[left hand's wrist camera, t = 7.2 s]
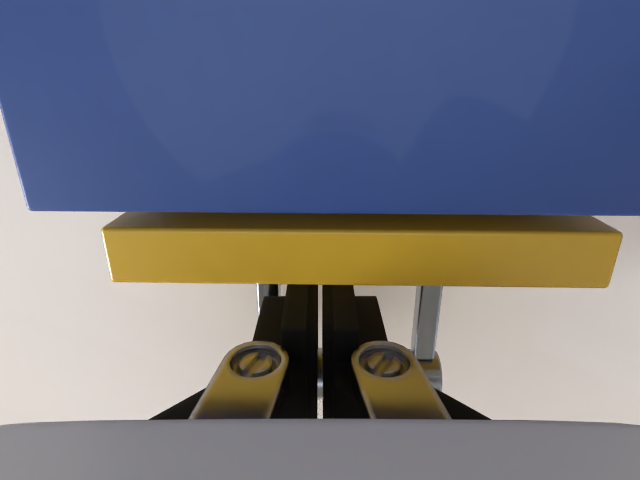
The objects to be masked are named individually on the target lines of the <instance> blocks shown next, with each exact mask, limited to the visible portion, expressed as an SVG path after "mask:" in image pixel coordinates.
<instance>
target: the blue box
mask: <svg viewBox="0 0 640 480" xmlns="http://www.w3.org/2000/svg"><path fill="white" fill-rule="evenodd" d="M0 108H1V112H2V116H3V119H4V123H5V127H6V130H7V134H8V138H9V141H10V145H11V149H12V153H13V156H14V160H15V164H16V167H17V171H18V175H19V178H20V182H21V186H22V190H23V193H24V197H25V201H26V204H27V208H28V209H29V210H31V211H102V212H227V213H353V214H478V215H604V216H640V0H0Z"/></svg>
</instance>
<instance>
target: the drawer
mask: <svg viewBox="0 0 640 480" xmlns="http://www.w3.org/2000/svg"><path fill="white" fill-rule="evenodd" d="M101 233H102V237H103V242H104V247H105V252H106V257H107V262H108V266H109V271H110V276H111V280H112V281H113V282H153V283H236V284H257V299H258V315H259V314H260V310H261V306H262V302H263V299H264V296H281V287H280V284H318V285H400V286H417V289H416V299H415V309H414V320H413V330H412V341H411V349H408V350H410V351H411V352H412V353H413V354H414V356H415V357H416V358H417V360H418V362H419V363H420V365H421V367H422V369H423V370H424V372H425V374H426V375H427V377H428V379H429V381H430V382H431V384H432V386H433V387H434V388H435V389H437V390H439V391H441V392H442V369H441V363H440V359H439V356H438V354H437V352H436V351H435V346H436V337H437V329H438V321H439V313H440V305H441V296H442V288H443V286H482V287H565V288H606V287H608V286H609V283H610V279H611V276H612V272H613V269H614V265H615V262H616V258H617V255H618V251H619V248H620V244H621V241H622V237H623V235H622V233H621V232H620V231H618V230H616V229H614V228H612V227H610V226H609V225H607V224H605V223H603V222H601V221H600V220H598V219H596V218H594V217H592V216H590V215H478V214H353V213H227V212H125V213H124V214H122V215H121V216H119V217H118V218H116V219H115V220H113V221H112V222H110V223H109V224H107V225H106V226H104V227H103V228H102V231H101ZM317 399H323V359H322V348H318V393H317Z"/></svg>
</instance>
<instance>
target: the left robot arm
mask: <svg viewBox="0 0 640 480" xmlns="http://www.w3.org/2000/svg"><path fill="white" fill-rule="evenodd" d="M322 359H323V419H317V393H318V284H287V291H286V296H264V299H263V302H262V306H261V310H260V314H259V318H258V322H257V326H256V330H255V334H254V338H253V341H252V342H247V343H243V344H241V345H238V346H236V347H235V348H233V349H232V350H230V351H229V352H228V353H227V354H226V356H225V357H224V358H223V360H222V362H221V363H220V365H219V367H218V369H217V370H216V372H215V374H214V375H213V377H212V379H211V381H210V382H209V384H208V386H207V388H205V389H203V390H201V391H199V392H198V393H196V394H194V395H192V396H190V397H189V398H187V399H185V400H183V401H181V402H180V403H178V404H176V405H174V406H172V407H171V408H169V409H167V410H165V411H163V412H162V413H160V414H158V415H156V416H154V417H152V418H151V419H149V420H107V421H64V422H36V423H18V424H8V425H0V480H640V425H632V424H622V423H604V422H576V421H540V420H491V419H489V418H488V417H486V416H484V415H482V414H480V413H479V412H477V411H475V410H473V409H471V408H470V407H468V406H466V405H464V404H462V403H461V402H459V401H457V400H455V399H453V398H452V397H450V396H448V395H446V394H444V393H443V392H441V391H439V390H437V389H435V388H434V387H433V386H432V384H431V382H430V381H429V379H428V377H427V375H426V374H425V372H424V370H423V369H422V367H421V365H420V363H419V362H418V360H417V358H416V357H415V356H414V354H413V353H412V352H411V351H410V350H408V349H407V348H405V347H404V346H402V345H399V344H397V343H393V342H388V340H387V336H386V333H385V329H384V325H383V321H382V317H381V313H380V309H379V305H378V301H377V298H376V296H355V295H354V289H353V285H323V289H322Z"/></svg>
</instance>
